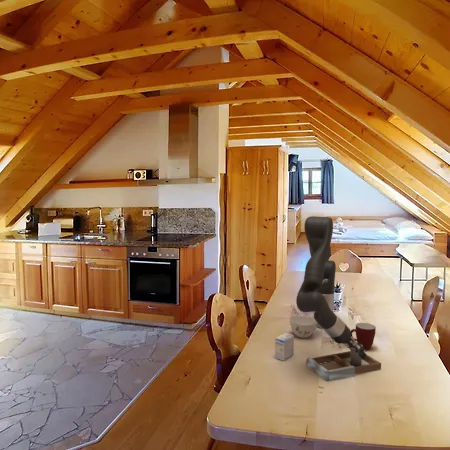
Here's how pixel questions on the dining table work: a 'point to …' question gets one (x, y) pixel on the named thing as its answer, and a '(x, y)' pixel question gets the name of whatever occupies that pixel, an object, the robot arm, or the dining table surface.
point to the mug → (364, 334)
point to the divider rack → (341, 372)
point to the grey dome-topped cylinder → (355, 359)
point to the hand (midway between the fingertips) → (360, 353)
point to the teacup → (303, 325)
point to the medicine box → (284, 346)
